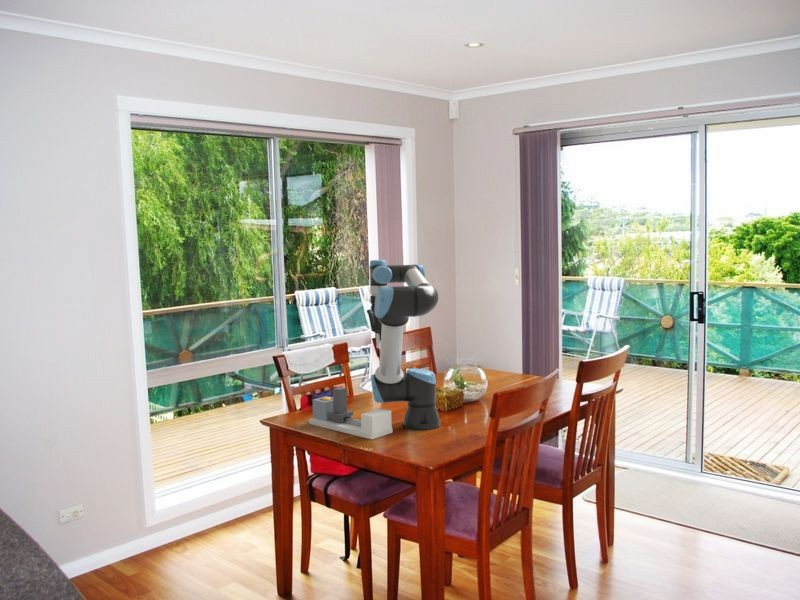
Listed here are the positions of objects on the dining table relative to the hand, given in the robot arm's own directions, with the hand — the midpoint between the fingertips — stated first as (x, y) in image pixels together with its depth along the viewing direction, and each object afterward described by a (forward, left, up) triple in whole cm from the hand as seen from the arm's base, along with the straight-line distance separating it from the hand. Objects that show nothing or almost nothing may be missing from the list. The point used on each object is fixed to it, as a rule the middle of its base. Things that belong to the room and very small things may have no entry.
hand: (379, 347), depth 322 cm
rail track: (-10, +29, -28) cm, 42 cm away
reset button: (+4, +29, -23) cm, 38 cm away
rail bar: (-11, +29, -26) cm, 41 cm away
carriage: (-5, +29, -26) cm, 39 cm away
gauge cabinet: (+4, +29, -26) cm, 40 cm away
